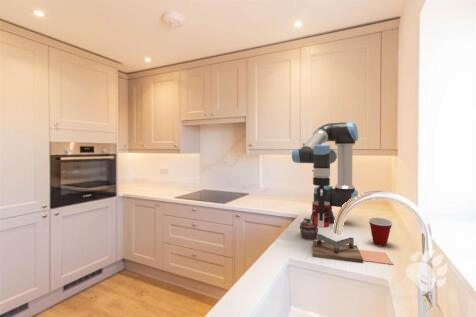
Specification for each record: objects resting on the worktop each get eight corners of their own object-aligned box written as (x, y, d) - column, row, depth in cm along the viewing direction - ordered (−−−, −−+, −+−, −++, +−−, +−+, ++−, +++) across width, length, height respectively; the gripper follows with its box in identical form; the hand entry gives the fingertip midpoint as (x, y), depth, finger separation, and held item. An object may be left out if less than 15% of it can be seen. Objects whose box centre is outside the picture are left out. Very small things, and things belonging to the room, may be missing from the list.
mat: (358, 250, 114) (358, 249, 114) (385, 253, 110) (385, 252, 110) (363, 261, 102) (363, 260, 102) (393, 265, 99) (393, 264, 99)
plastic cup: (366, 245, 120) (366, 221, 120) (368, 238, 129) (369, 216, 129) (392, 250, 114) (392, 224, 114) (392, 243, 123) (393, 219, 123)
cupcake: (300, 239, 127) (300, 220, 127) (299, 233, 136) (299, 216, 136) (319, 241, 125) (320, 221, 125) (316, 234, 135) (317, 217, 135)
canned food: (315, 221, 121) (316, 200, 121) (331, 225, 116) (332, 202, 116) (309, 225, 116) (309, 202, 115) (326, 228, 110) (326, 204, 110)
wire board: (312, 243, 122) (312, 231, 122) (356, 248, 116) (356, 236, 116) (312, 256, 106) (312, 243, 106) (363, 263, 100) (363, 248, 100)
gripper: (313, 174, 126) (312, 218, 127) (312, 178, 107) (312, 230, 107) (328, 175, 124) (328, 219, 125) (331, 179, 104) (330, 232, 105)
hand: (320, 224), depth 116 cm, fingers closed on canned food, 8 cm apart
